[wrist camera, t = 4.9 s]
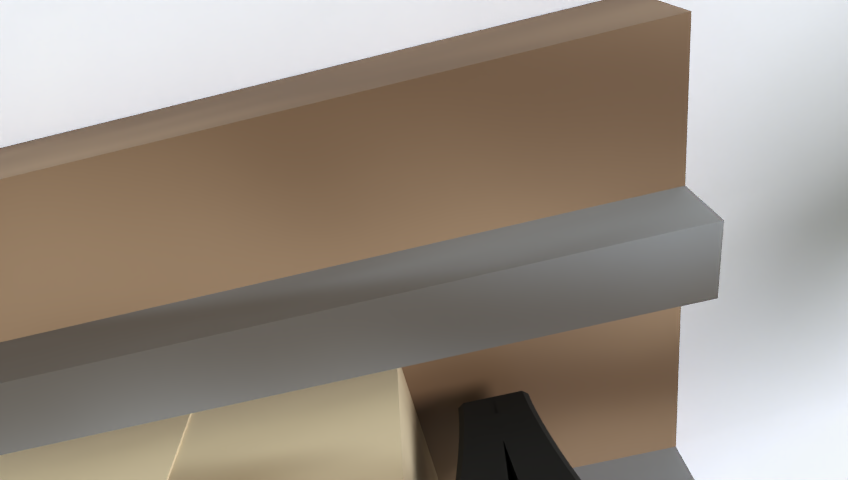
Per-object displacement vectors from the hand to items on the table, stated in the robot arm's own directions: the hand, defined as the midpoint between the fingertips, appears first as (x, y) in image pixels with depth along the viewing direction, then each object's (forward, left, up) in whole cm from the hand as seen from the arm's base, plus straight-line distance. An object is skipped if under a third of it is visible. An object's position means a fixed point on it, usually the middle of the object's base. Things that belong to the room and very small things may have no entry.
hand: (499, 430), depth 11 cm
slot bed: (0, +3, -3) cm, 4 cm away
